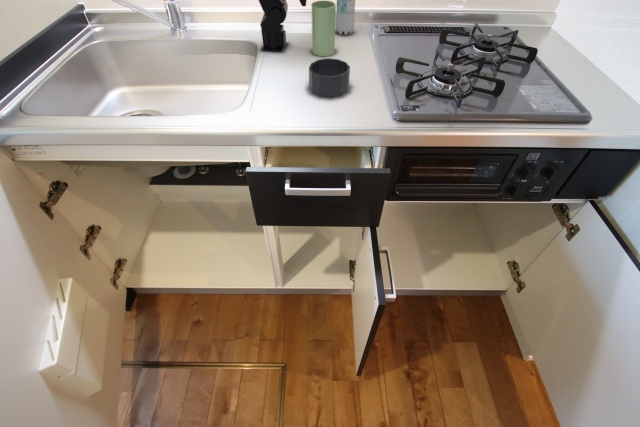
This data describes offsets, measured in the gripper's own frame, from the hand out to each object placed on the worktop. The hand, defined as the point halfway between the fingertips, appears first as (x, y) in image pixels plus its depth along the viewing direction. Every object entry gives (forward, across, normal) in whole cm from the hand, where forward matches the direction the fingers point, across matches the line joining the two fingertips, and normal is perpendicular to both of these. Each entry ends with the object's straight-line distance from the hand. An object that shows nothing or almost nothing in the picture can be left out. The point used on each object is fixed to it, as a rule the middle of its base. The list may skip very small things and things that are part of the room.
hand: (307, 0), depth 97 cm
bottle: (+14, +14, -9) cm, 21 cm away
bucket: (+13, -24, -11) cm, 30 cm away
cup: (+13, -2, -5) cm, 14 cm away
